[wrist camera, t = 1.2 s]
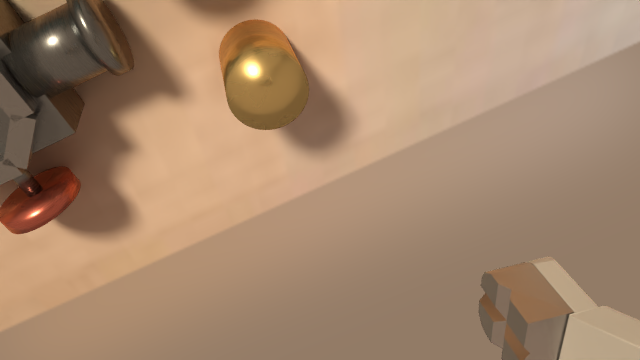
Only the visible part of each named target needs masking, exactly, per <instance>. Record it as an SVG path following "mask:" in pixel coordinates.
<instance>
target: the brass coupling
mask: <svg viewBox="0 0 640 360" xmlns="http://www.w3.org/2000/svg"><path fill="white" fill-rule="evenodd" d="M219 59H220V65H221V70H222V75H223V81H224V86H225V91H226V97H227V102H228V105H229V107H230V109H231V111H232V113H233V114H234V116H235V117H236V118H237V119H238V120H239V121H241V122H242V123H243V124H245V125H247V126H249V127H252V128H255V129H260V130H271V129H277V128H280V127H283V126H285V125H287V124H289V123H290V122H292V121H293V120H294V119H296V118H297V117H298V116H299V114H300V113H301V112H302V110H303V109H304V107H305V105H306V102H307V100H308V95H309V85H308V80H307V77H306V75H305V73H304V71H303V69H302V67H301V65H300V63H299V61H298V59H297V57H296V55H295V53H294V51H293V49H292V47H291V45H290V43H289V42H288V40H287V38H286V36H285V34H284V33H283V32H282V31H281V30H280V29H279V28H278V27H277V26H275V25H274V24H272V23H270V22H267V21H264V20H247V21H244V22H241V23H239V24H237V25H235V26H234V27H233V28H231V29H230V30H229V31H228V32H227V34H226V35H225V36H224V38H223V40H222V42H221V45H220V50H219Z"/></svg>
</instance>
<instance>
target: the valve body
mask: <svg viewBox="0 0 640 360" xmlns="http://www.w3.org/2000/svg"><path fill="white" fill-rule="evenodd" d="M66 1H67V3H66V4H64V5H62V6H60V7H58V8H56V9H54V10H51V11H49V12H47V13H45V14H43V15H41V16H39V17H37V18H35V19H33V20H31V21H29V22H27V23H25V24H24V22H23V21H22V20H21V18H20V17H19V16H18V14H17V13H16V12H15V10H14V9H13V8H12V6H11V5H10V4H9V2H8V1H7V0H0V185H1V184H3V183H5V182H8V181H10V180H13V181H14V182H15V183H16V184H17V185H18V186H19V188H18V189H16V190H15V191H14V192H13V193H12V194H11V195H10V196H9V197H8V198H7V199H6V200H5V202H4V203H3V204H2V206H1V207H0V222H1V223H2V224H3V225H4V226H5V227H6V228H7V229H8V230H9V231H10V232H11V233H14V234H23V233H27V232H30V231H33V230H35V229H37V228H39V227H41V226H43V225H45V224H47V223H48V222H50V221H51V220H53V219H54V218H55V217H57V216H58V215H59V214H60V213H62V212H63V211H64V210H65V209H66V208H67V207H68V206H69V205H70V204H71V203H72V201H73V200H74V199H75V197H76V196H77V194H78V192H79V190H80V186H81V184H80V181H79V180H78V179H77V177H76V176H75V175H74V174H73V173H72V172H71V170H70V169H69V168H67V167H55V168H52V169H49V170H46V171H44V172H42V173H40V174H38V175H36V176H35V177H33V176H32V175H31V174H30V172H29V171H28V170H27V168H28V165H29V163H30V160H31V158H32V153H34V152H36V151H39V150H41V149H43V148H45V147H47V146H49V145H51V144H53V143H55V142H57V141H59V140H62V139H64V138H66V137H68V136H70V135H72V134H74V133H75V132H76V129H77V126H78V123H79V119H80V116H81V113H82V110H83V107H84V102H83V101H82V99H81V98H80V97H79V95H78V94H77V93H76V91H75V90H74V89H73V87H75V86H77V85H79V84H81V83H84V82H86V81H88V80H90V79H92V78H94V77H96V76H98V75H100V74H102V73H104V72H106V71H109V72H110V73H112V74H114V75H116V76H119V75H122V74H124V73H126V72H128V71H130V70H132V69H133V68H134V59H133V55H132V52H131V49H130V47H129V44H128V42H127V40H126V37H125V35H124V33H123V31H122V29H121V28H120V26H119V24H118V22H117V21H116V19H115V17H114V16H113V14H112V13H111V11H110V10H109V8H108V7H107V5H106V4H105V3H104V1H103V0H66Z"/></svg>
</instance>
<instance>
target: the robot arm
mask: <svg viewBox="0 0 640 360" xmlns="http://www.w3.org/2000/svg"><path fill="white" fill-rule="evenodd" d="M481 287H482V288H483V289H484V291H485V294H484V295H483V297H482V298H481V299H480V301H479V315H480V320H481V324H482V327H483V329H484V331H485V333H486V335H487V337H488V338H489V340H490V341H491V343H493V344H495V345H497V346H499V347H501V348H502V349H503V351H502V360H640V320H638V319H635V318H633V317H631V316H629V315H626V314H624V313H622V312H619V311H617V310H615V309H612V308H610V307H608V306H601V307H598V306H597V305H596V304H595V302H594V301H593V300H592V299H591V298H590V297H589V296H588V295H587V294H586V293H585V292H584V291H583V290H582V288H581V287H580V286H579V285H578V284H577V283H576V282H575V281H574V280H573V279H572V278H571V277H570V275H568V273H567V272H566V271H565V270H564V269H563V268H562V267H561V266H560V265H559V264H558V263H557V262H556V260H555V259H553V258H551V257H549V256H548V257H544V258H540V259H536V260H532V261H528V262H523V263H520V264H516V265H512V266H507V267H504V268H499V269H495V270H492V271H488V272H485V273H484V274H483V276H482V280H481Z"/></svg>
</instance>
